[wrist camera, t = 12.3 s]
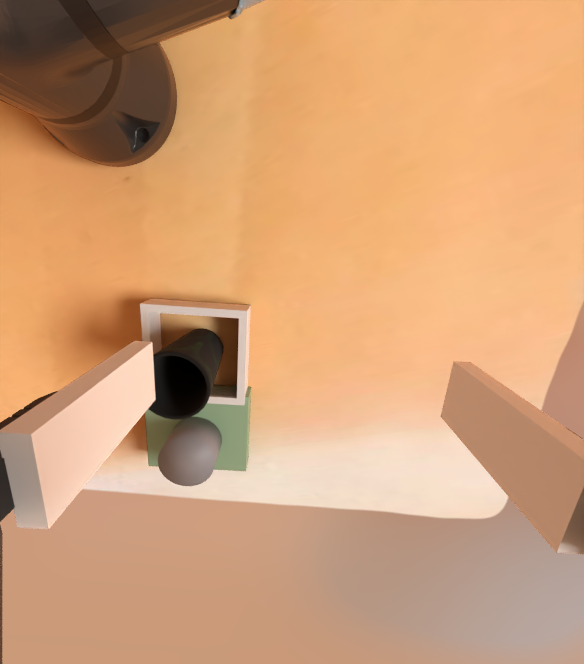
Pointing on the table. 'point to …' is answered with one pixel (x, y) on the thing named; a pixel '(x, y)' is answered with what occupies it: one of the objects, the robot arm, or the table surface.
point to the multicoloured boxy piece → (214, 419)
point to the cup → (186, 374)
